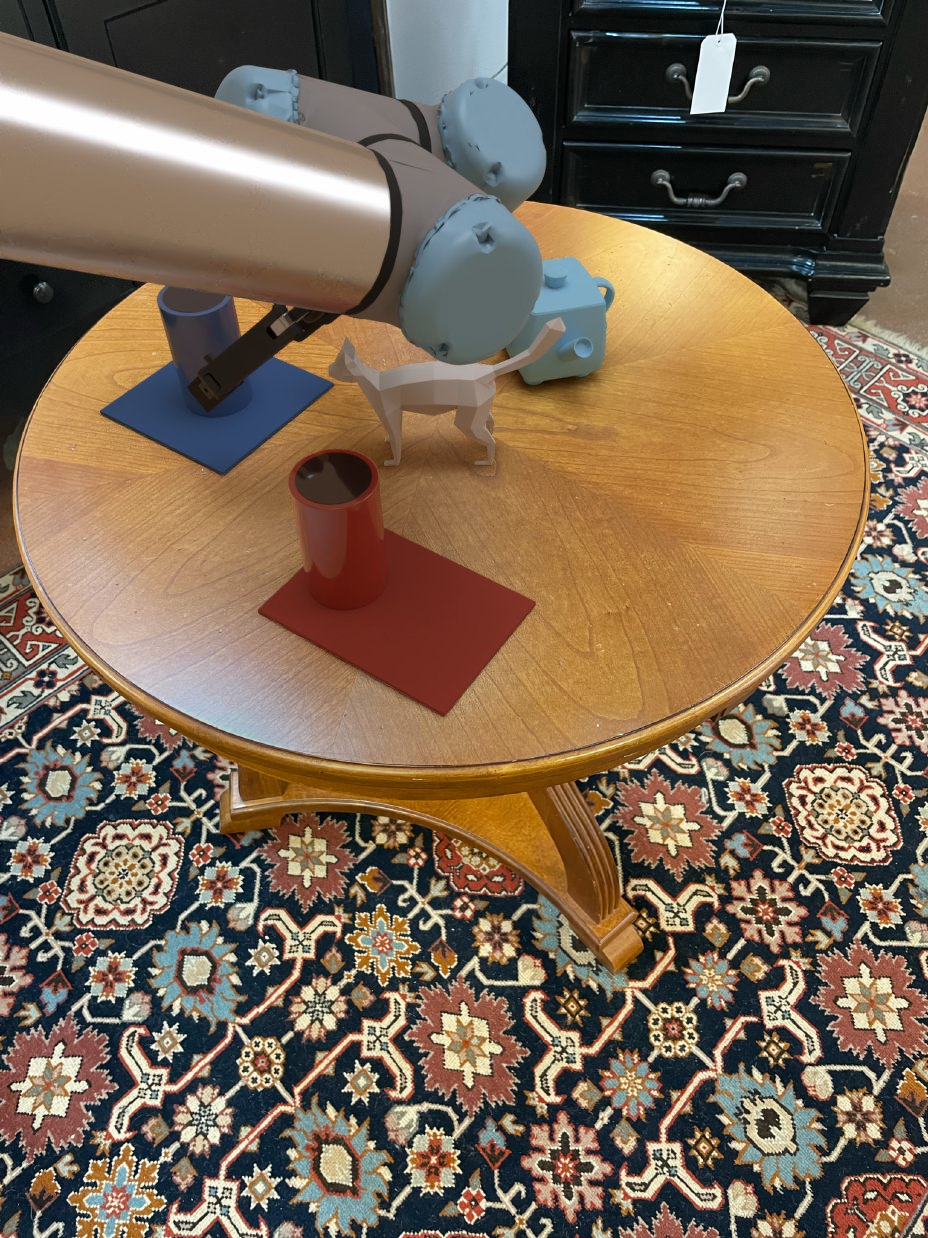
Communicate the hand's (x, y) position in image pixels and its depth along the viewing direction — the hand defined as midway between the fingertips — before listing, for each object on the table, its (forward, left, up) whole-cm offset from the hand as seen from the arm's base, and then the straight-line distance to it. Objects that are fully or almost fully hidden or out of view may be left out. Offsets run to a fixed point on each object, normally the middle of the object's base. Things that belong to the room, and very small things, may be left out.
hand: (252, 358), depth 85 cm
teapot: (+17, +23, -8) cm, 30 cm away
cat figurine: (+17, +6, -8) cm, 19 cm away
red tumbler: (+19, -12, -7) cm, 23 cm away
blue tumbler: (-6, 0, -7) cm, 9 cm away
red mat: (+24, -12, -7) cm, 28 cm away
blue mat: (-6, 0, -7) cm, 10 cm away
